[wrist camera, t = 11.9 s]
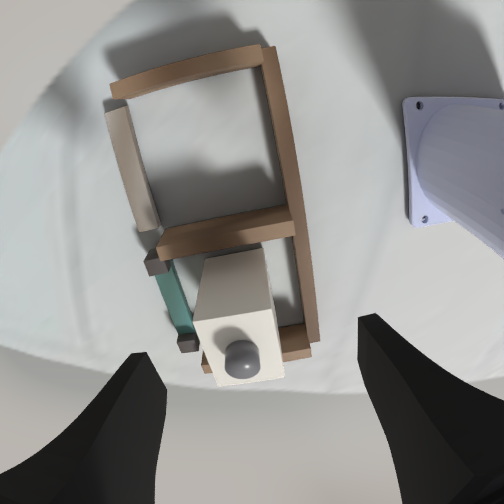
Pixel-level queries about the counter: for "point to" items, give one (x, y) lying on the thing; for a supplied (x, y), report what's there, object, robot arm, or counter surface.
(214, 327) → the plug
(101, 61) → the counter surface
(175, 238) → the slot rack
